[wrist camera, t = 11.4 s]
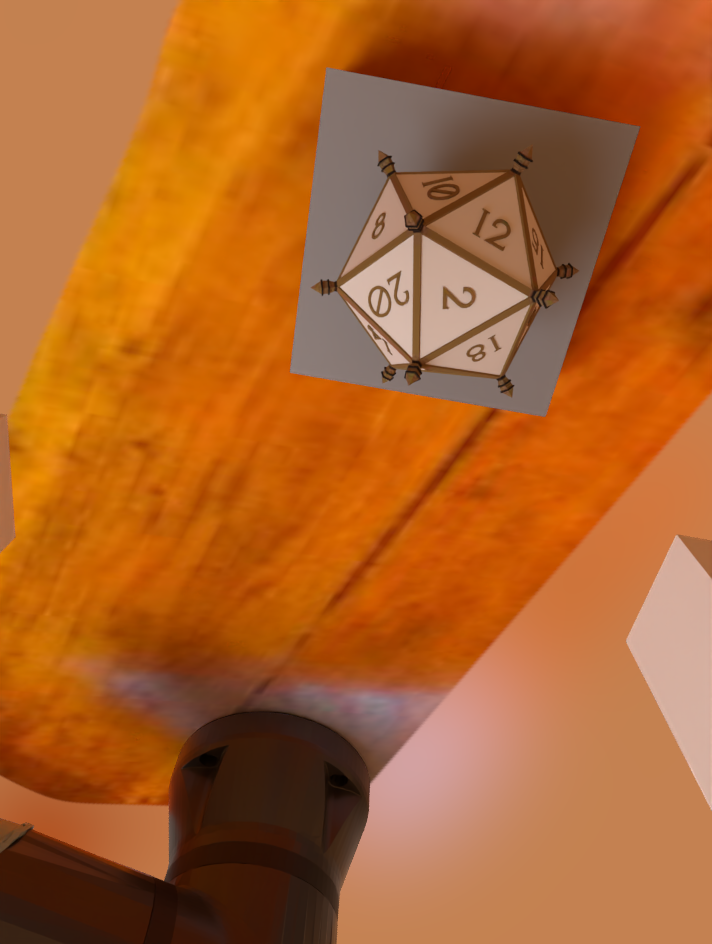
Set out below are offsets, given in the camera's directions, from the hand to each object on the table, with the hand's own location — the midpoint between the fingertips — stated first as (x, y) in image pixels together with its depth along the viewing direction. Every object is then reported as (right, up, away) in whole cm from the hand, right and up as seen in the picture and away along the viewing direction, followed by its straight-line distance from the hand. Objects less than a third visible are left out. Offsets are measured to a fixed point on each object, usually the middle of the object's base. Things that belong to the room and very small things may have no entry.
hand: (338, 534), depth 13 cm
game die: (+4, +10, +14) cm, 18 cm away
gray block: (+4, +12, +18) cm, 23 cm away
